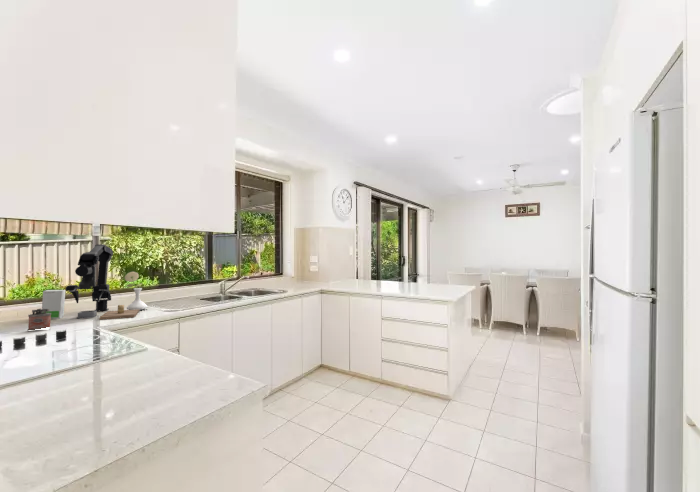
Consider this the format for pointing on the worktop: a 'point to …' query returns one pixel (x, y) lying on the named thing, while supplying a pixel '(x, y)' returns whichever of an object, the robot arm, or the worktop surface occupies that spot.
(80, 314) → the steel link
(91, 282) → the robot arm
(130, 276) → the flower in vase
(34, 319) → the lighter
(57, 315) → the skincare box
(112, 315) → the keeper board
